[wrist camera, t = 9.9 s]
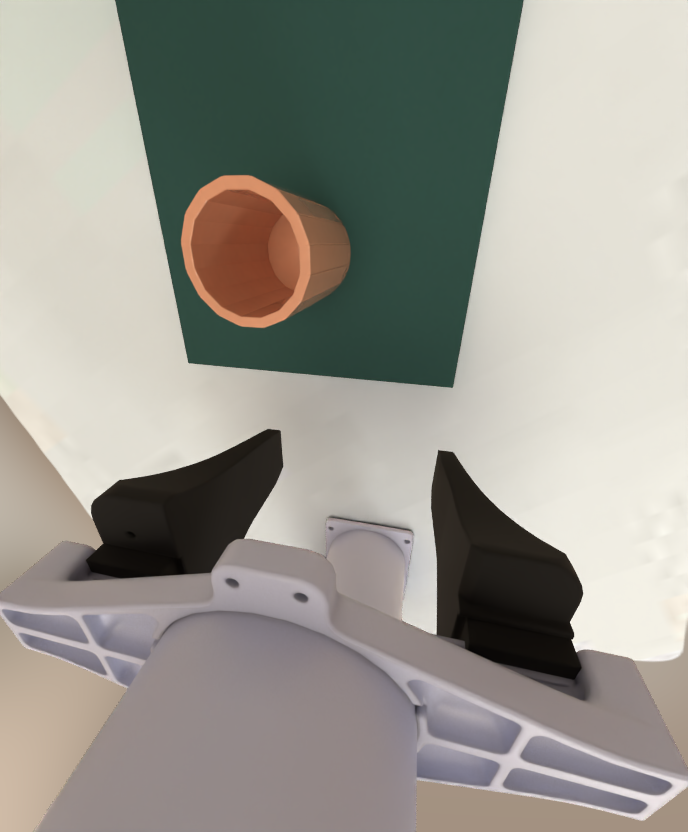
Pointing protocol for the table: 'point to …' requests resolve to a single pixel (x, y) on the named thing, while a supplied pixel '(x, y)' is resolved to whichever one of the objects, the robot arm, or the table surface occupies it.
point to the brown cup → (261, 250)
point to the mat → (333, 160)
